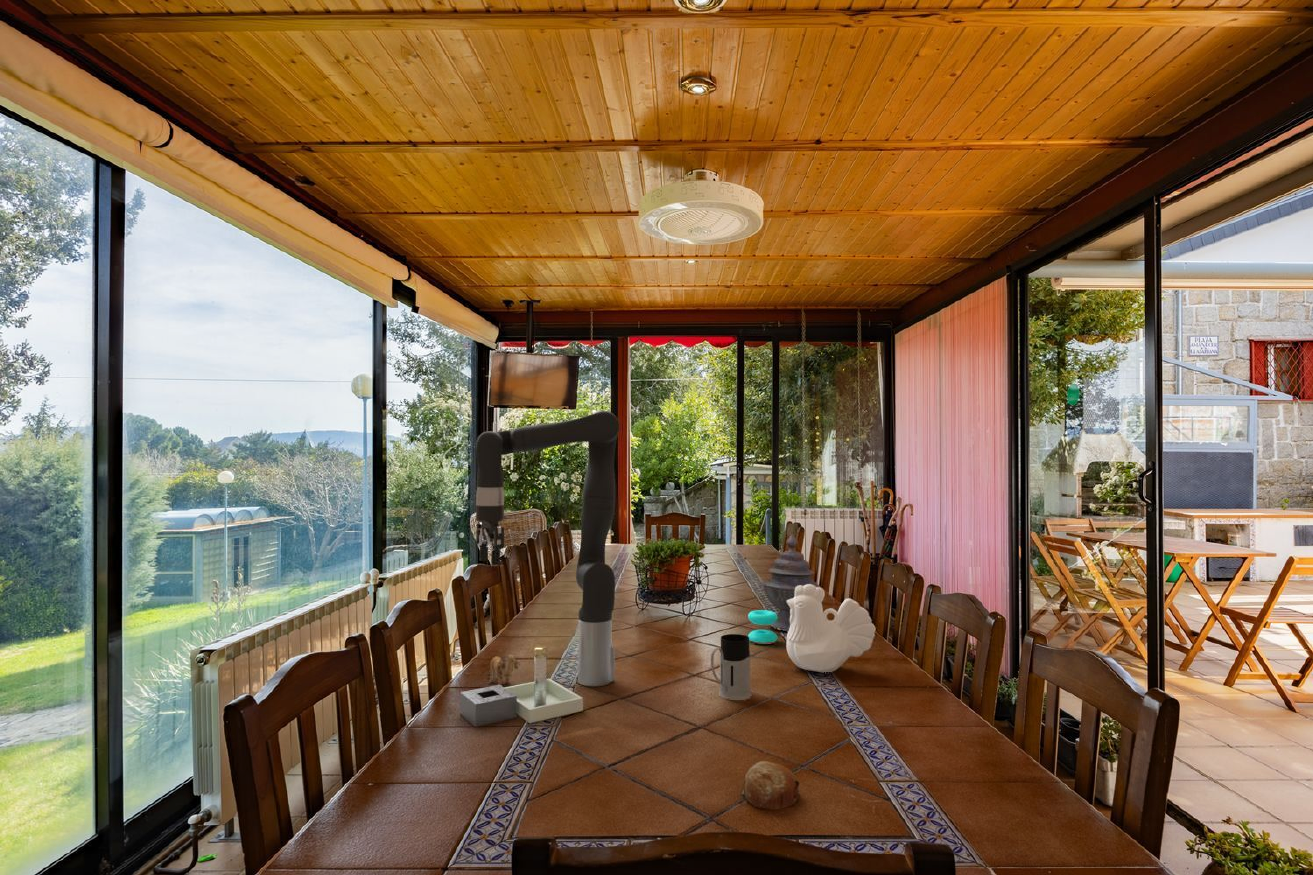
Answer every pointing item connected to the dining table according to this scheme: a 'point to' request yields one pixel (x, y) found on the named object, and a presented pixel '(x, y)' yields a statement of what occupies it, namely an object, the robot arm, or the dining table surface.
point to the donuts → (762, 619)
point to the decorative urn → (787, 581)
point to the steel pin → (540, 676)
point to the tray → (556, 701)
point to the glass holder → (733, 667)
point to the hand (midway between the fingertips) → (489, 562)
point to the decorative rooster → (825, 631)
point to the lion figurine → (503, 668)
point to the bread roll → (770, 786)
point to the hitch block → (488, 705)
